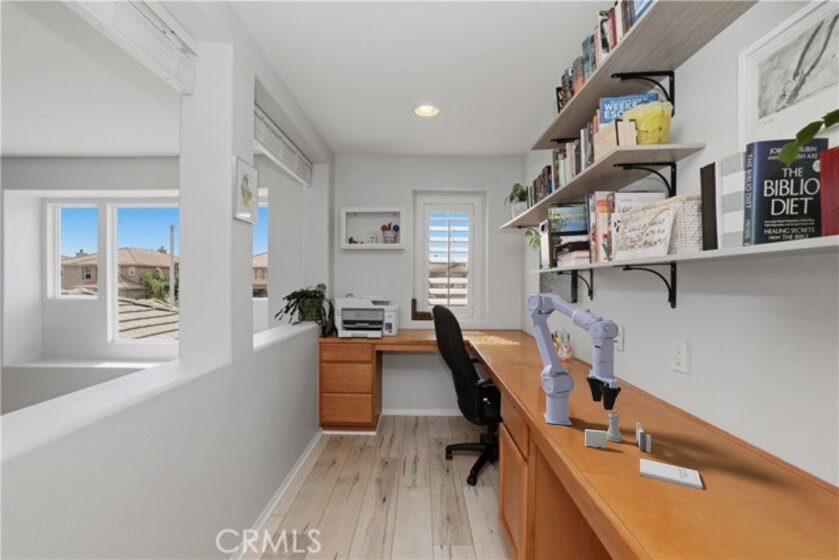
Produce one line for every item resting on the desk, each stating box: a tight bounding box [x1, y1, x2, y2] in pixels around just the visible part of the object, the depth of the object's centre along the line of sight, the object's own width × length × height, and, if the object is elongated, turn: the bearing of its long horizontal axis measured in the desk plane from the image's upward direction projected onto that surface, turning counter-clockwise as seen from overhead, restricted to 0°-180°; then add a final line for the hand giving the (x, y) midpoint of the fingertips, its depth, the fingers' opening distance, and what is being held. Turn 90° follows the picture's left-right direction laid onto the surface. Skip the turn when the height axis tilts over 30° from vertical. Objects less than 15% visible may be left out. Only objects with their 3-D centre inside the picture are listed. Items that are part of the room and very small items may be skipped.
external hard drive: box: [639, 458, 703, 490], centre depth 94 cm, size 2×8×12 cm
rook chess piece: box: [605, 411, 623, 443], centre depth 115 cm, size 4×4×8 cm
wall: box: [584, 428, 652, 454], centre depth 109 cm, size 1×17×4 cm, turn 78°
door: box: [635, 422, 646, 452], centre depth 111 cm, size 1×10×5 cm, turn 156°
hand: (602, 405), depth 115 cm, fingers open, 7 cm apart
